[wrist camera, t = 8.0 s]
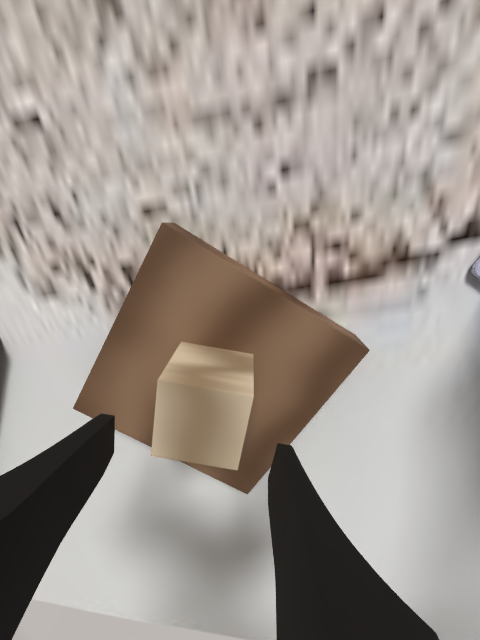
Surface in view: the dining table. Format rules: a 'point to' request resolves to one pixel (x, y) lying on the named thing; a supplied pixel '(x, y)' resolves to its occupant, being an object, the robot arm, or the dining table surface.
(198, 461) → the maple block
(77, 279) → the dining table surface
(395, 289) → the dining table surface
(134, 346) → the walnut base
